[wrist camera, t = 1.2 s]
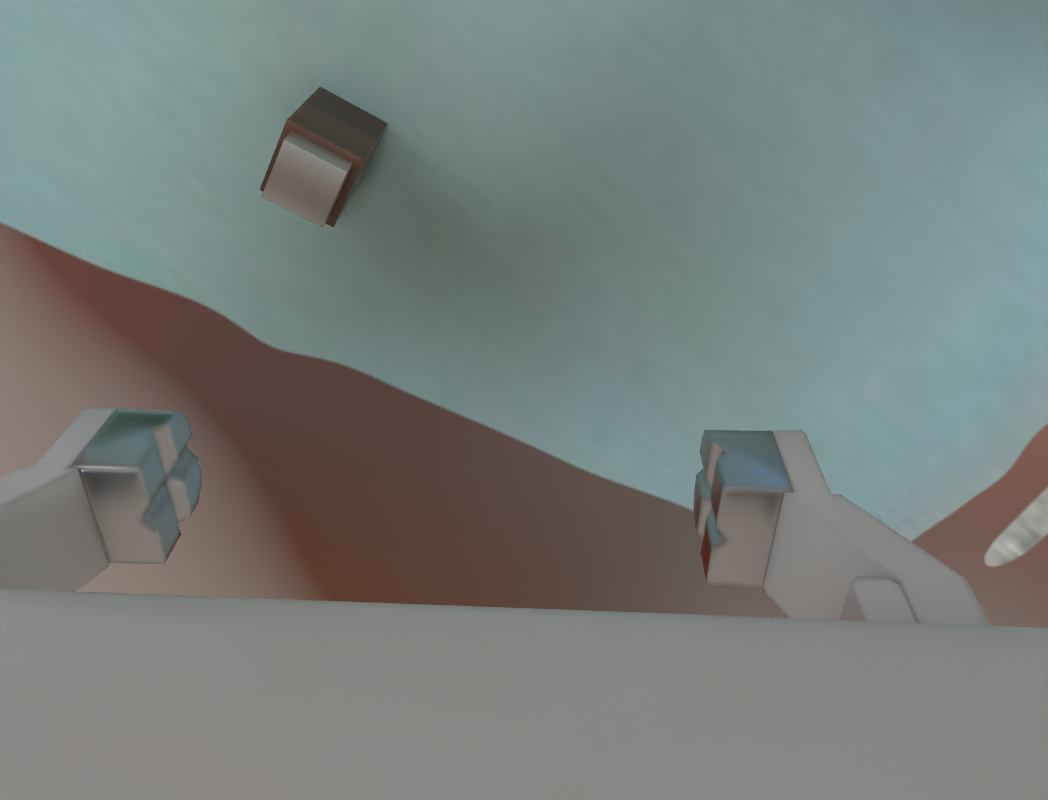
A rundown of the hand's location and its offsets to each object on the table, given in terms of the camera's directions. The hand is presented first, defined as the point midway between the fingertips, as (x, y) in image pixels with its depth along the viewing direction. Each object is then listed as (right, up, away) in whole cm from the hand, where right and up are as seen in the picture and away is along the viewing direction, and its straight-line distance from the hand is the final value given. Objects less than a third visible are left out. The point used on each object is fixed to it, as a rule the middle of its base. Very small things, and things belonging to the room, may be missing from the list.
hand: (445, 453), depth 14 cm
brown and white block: (-9, +16, +35) cm, 39 cm away
